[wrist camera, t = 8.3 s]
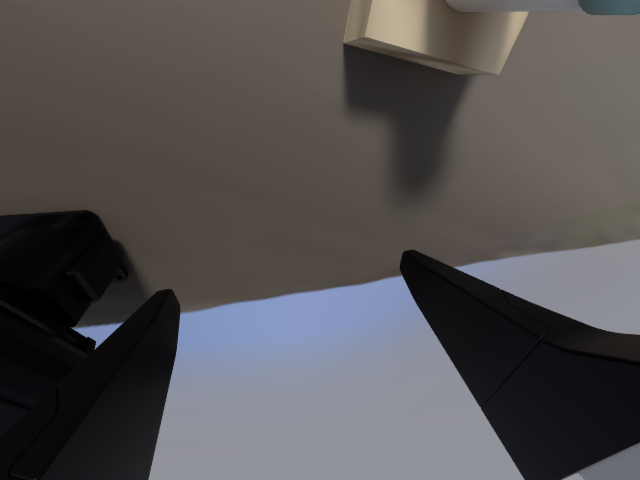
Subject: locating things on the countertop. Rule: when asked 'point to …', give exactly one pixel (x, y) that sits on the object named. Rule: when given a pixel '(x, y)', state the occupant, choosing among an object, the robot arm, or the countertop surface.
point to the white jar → (549, 6)
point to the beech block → (434, 34)
